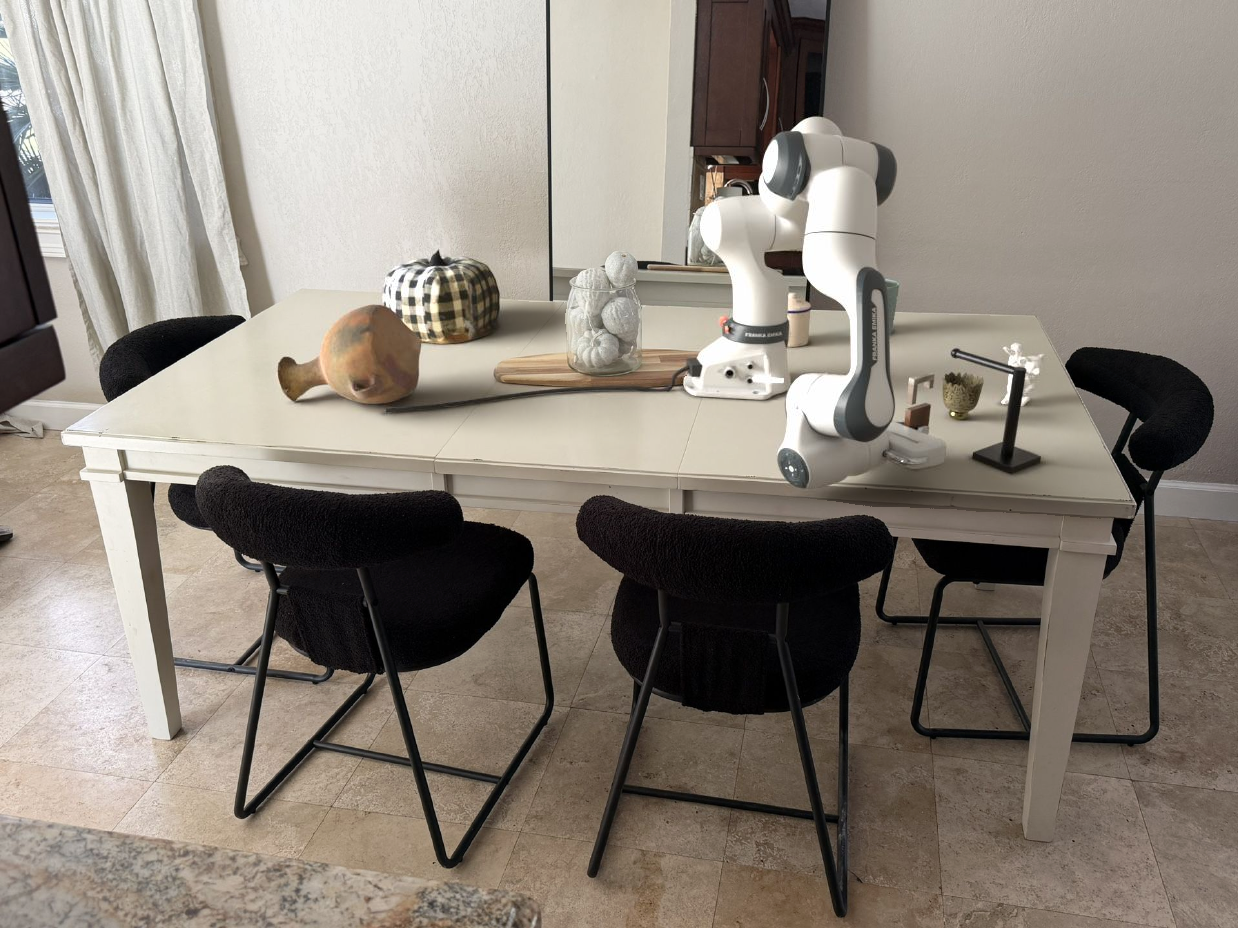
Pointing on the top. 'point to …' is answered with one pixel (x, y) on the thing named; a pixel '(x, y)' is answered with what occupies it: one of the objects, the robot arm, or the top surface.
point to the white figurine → (1033, 369)
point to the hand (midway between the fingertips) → (919, 427)
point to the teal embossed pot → (892, 300)
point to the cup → (961, 394)
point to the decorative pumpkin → (444, 298)
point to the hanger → (919, 412)
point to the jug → (359, 359)
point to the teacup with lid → (798, 320)
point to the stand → (1006, 452)
